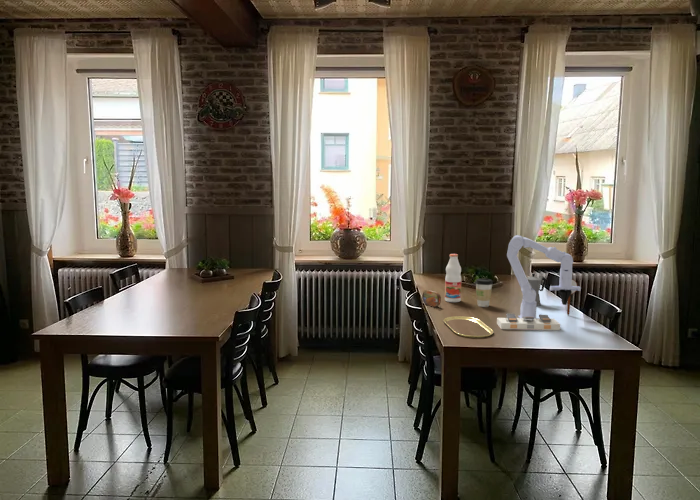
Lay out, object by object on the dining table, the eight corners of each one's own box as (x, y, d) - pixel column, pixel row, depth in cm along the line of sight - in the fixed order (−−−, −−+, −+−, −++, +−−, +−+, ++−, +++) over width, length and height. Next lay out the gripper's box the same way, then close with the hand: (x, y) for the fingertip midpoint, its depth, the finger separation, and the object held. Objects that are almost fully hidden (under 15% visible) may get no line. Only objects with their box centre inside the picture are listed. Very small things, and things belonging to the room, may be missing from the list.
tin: (421, 302, 314) (421, 288, 313) (426, 302, 316) (426, 288, 314) (437, 308, 301) (437, 293, 300) (441, 307, 302) (442, 293, 301)
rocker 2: (522, 318, 266) (522, 316, 266) (530, 318, 266) (530, 316, 266) (525, 319, 260) (525, 316, 260) (533, 319, 260) (533, 317, 260)
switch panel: (496, 323, 269) (497, 315, 269) (553, 324, 268) (554, 316, 267) (501, 329, 259) (501, 321, 259) (560, 330, 258) (560, 322, 257)
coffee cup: (474, 303, 313) (475, 278, 311) (491, 304, 311) (492, 278, 309) (474, 307, 303) (475, 281, 301) (492, 308, 301) (493, 281, 299)
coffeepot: (527, 306, 304) (528, 275, 302) (517, 303, 313) (518, 272, 311) (550, 304, 309) (551, 274, 306) (539, 301, 318) (541, 271, 315)
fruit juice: (459, 299, 323) (460, 253, 319) (461, 302, 314) (463, 255, 310) (443, 298, 324) (445, 253, 320) (445, 302, 315) (446, 255, 311)
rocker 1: (506, 315, 267) (506, 313, 266) (514, 315, 266) (514, 313, 266) (508, 321, 261) (508, 319, 261) (516, 321, 261) (517, 319, 260)
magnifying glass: (561, 316, 283) (563, 279, 280) (559, 315, 285) (561, 278, 282) (576, 315, 284) (578, 278, 281) (574, 315, 286) (577, 278, 283)
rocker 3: (538, 316, 266) (539, 314, 265) (547, 316, 265) (547, 314, 265) (542, 321, 260) (542, 319, 260) (550, 321, 260) (550, 319, 259)
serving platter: (474, 318, 280) (474, 315, 280) (499, 338, 246) (499, 335, 246) (439, 319, 278) (439, 316, 278) (459, 339, 244) (459, 336, 244)
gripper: (553, 279, 265) (552, 306, 266) (583, 279, 264) (581, 306, 265) (549, 276, 271) (547, 302, 273) (578, 277, 271) (576, 303, 272)
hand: (564, 304), depth 270 cm, fingers closed
